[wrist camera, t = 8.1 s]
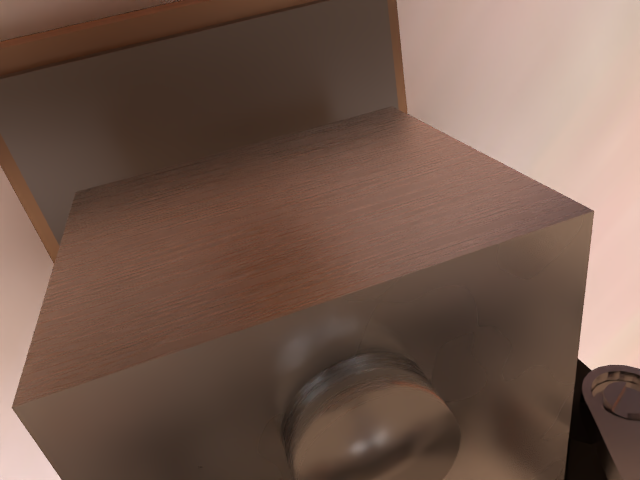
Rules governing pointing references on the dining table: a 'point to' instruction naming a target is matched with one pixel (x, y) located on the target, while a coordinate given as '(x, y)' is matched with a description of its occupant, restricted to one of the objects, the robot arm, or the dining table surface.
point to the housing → (313, 316)
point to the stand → (183, 89)
